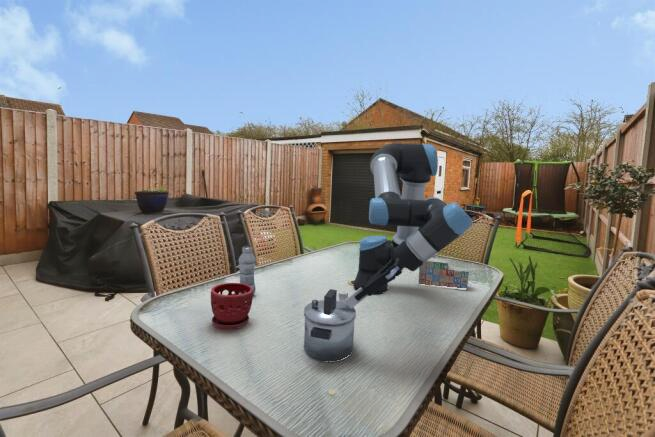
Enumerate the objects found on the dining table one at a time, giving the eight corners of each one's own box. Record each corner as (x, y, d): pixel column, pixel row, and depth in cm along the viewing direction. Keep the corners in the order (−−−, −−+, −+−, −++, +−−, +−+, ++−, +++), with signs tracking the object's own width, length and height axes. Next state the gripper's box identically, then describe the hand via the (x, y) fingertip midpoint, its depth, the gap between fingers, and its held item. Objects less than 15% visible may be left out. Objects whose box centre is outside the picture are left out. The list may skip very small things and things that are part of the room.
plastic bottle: (251, 299, 126) (251, 249, 124) (235, 297, 127) (235, 247, 125) (258, 293, 132) (258, 245, 130) (242, 291, 134) (243, 244, 131)
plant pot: (230, 337, 97) (230, 298, 95) (202, 325, 104) (201, 289, 102) (260, 321, 108) (261, 287, 106) (233, 311, 115) (233, 278, 113)
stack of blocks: (465, 287, 151) (467, 261, 150) (467, 291, 145) (469, 265, 144) (418, 281, 157) (420, 256, 156) (418, 285, 151) (420, 259, 150)
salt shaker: (341, 315, 115) (342, 289, 114) (350, 318, 113) (351, 292, 111) (334, 318, 112) (335, 292, 111) (343, 322, 110) (344, 295, 108)
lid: (359, 308, 96) (360, 288, 96) (349, 329, 82) (351, 306, 82) (313, 301, 100) (314, 281, 99) (296, 320, 86) (296, 298, 85)
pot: (358, 337, 100) (360, 306, 98) (345, 371, 82) (346, 334, 80) (315, 329, 103) (316, 299, 102) (293, 361, 85) (294, 325, 84)
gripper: (425, 269, 76) (352, 324, 83) (424, 256, 88) (361, 305, 95) (403, 244, 77) (333, 301, 83) (406, 235, 89) (344, 286, 96)
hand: (348, 304), depth 89 cm, fingers closed
